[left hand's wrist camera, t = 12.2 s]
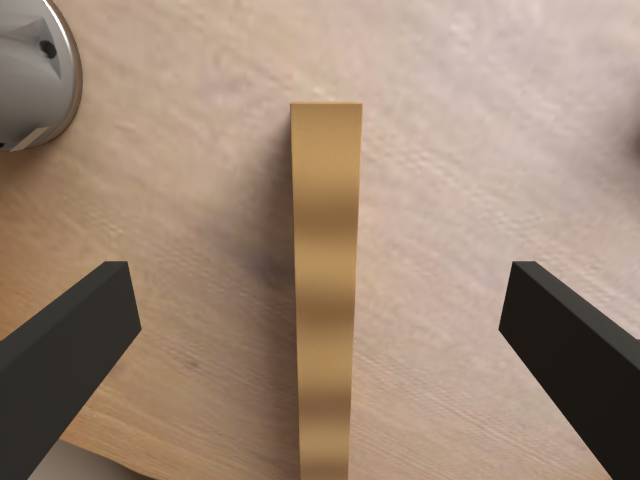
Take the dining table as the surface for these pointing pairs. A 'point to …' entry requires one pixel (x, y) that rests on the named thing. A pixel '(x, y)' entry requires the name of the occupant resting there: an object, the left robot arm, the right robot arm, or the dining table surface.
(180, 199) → the dining table surface
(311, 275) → the bar
